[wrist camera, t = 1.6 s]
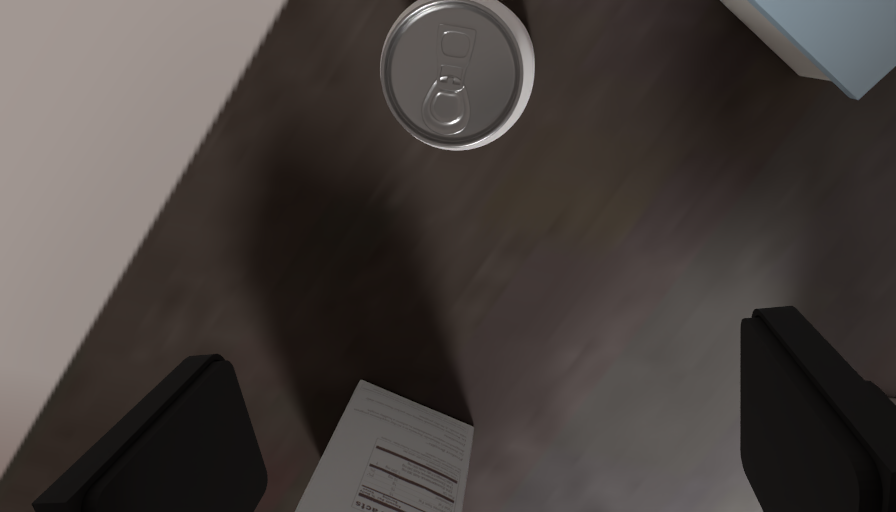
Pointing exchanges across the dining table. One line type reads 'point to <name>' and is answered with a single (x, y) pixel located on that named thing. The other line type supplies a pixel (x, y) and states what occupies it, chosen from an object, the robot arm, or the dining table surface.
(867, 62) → the lid
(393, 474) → the supplement box
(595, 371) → the dining table surface
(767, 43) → the tub
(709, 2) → the dining table surface
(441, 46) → the can
